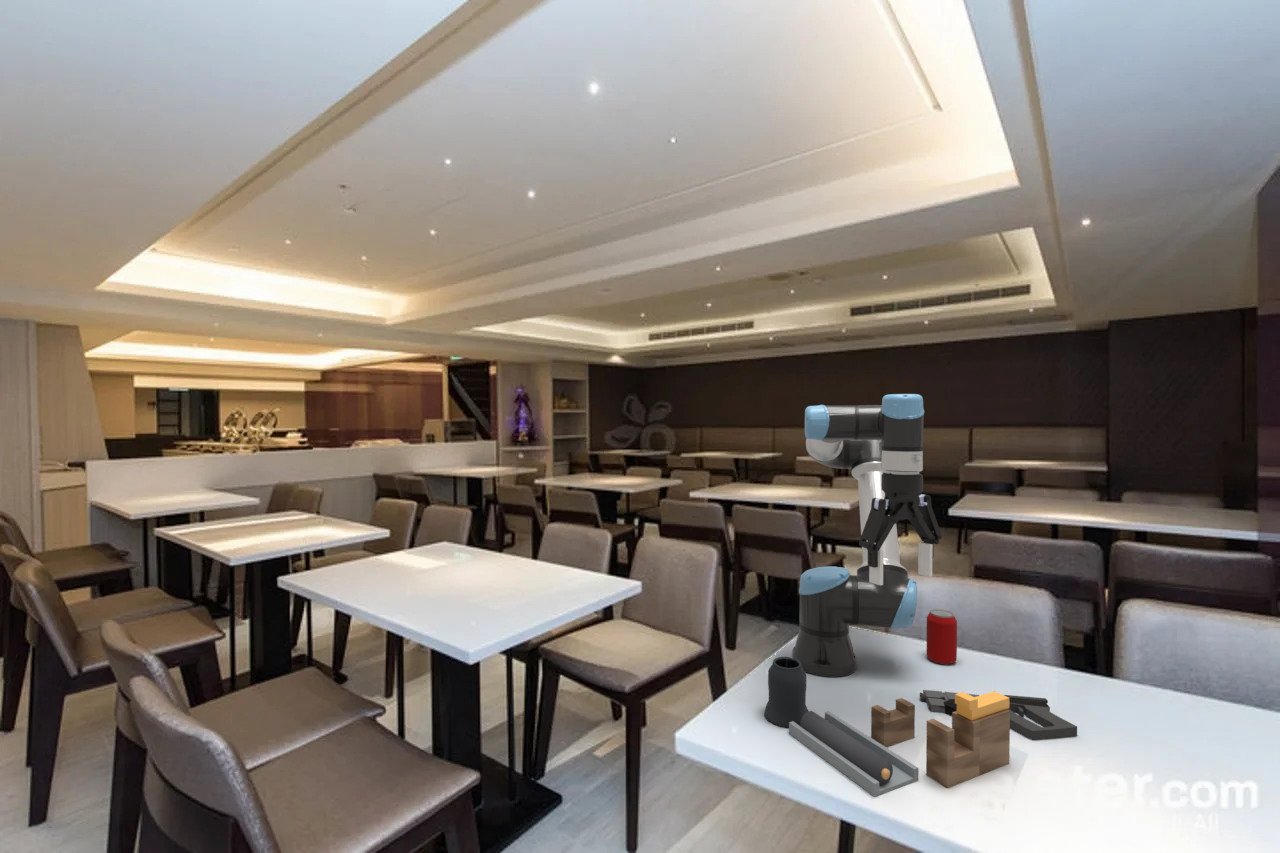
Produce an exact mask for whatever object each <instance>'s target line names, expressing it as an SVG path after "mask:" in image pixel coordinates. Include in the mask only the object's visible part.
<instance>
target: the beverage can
mask: <svg viewBox="0 0 1280 853" xmlns="http://www.w3.org/2000/svg"><path fill="white" fill-rule="evenodd" d="M957 653H958V621H957V619H956V617H955V613H954V612H951V611H949V610H946V609H942V608H937V609H935V608H933V609H931V610H929V614H927V616H926V656H927V658H928V659H929V660H931V661H932V662H934V663H936V664H939V665H952V664H953V663H956V661H958V660H957V658H958V657H957V655H958V654H957Z"/></svg>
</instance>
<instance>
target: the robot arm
mask: <svg viewBox="0 0 1280 853" xmlns="http://www.w3.org/2000/svg"><path fill="white" fill-rule="evenodd" d="M881 400H882V401H881V404H880V405H879V404H873V405H871V404H866V405H861V404H859V405H857V404H856V405H855V404H854V405H824V404H819V405H808V406H807V407H806V408H805V410H804V436H805V438H806V439H805V449H806V452H807V453H808V456H810V458H811V459H813V460H814V461H815V462H817V463H819V464H820V465H823V466H826V467H828V468H833V469H844V470H850V472H851V476H852V477H853V478H854V479H855V480H857V487H858V500H859V501H858V504H859V517H860V518H859V519H860V536H861V537H860V539H859V542H858V545H859V547H861V548H862V549H861V552H862V554H861V555H862V564H861V565H860V566H859V567H857V569H856V575H854V574H853V575H852V574H851V573H850V570H848V568H845V567H841V566H840V567H838V566H836V565H835V566H830V565H829V566H827V565H826V566H819V567H813V568H809V569H807V570H805V571H804V572H803V573H802V574H801V575H800V578H799V580H800V581H799V589H798V593H799V629H798V630H799V631H798V634H797V638H796V641H795V645H794V647H793V648H792V652H791V653H792V654H791V655H792V656H791V658H795V659H797V660H799V661H800V662H801V664H802V668H803V670H804V671H805V673H809V674H812V675H815V676H819V677H829V678H830V677H832V678H835V677H837V678H838V677H843V676H849V675H851V674H853V673H854V672H856V671H857V656H856V654H855V651H854V647H853V644H852V641H851V637H850V630H849V629H850V626H852V625H853V626H863V627H876V628H885V629H890V630H892V629H908V628H910V627H911V626H912V625H913V623H914V621H915V617H916V611H917V602H918V587H917V586H918V585H917V580H916V579H914V578H911V577H909V572H908V570H907V568H906V567H904V566H903V565H902V564H901V561H900V551H899V550H900V549H899V540H898V539H899V538H898V528H897V523H899V521H905V520H908V521H909V523H910V524H911V526H912V527H913V528H914V530H915V532H916V534H917V535H918V537H919V538H920V540H921V541H918V547H917V548H918V549H917V550H918V551H917V553H918V554H917V555H918V556H917V559H918V560H917V561H918V563H917V566H918V567H917V572H918V573H917V574H919V575H921V576H925V577H928V578H932V577H933V559H934V550H935V549H934V545H938V544H939V542H940V540H941V539H942V538H943V535H942V532H941V529H940V527H939V524H938V521H937V518H936V515H935V513H934V509H933V507H932V497H931V495H929V494H928V495H927V494H922V492H923V490H924V475H922V474H921V473H920V472H922V471H923V470H924V464H923V463H924V461H923V457H924V456H923V454H924V453H923V452H924V414H925V409H924V399H923V396H922V395H921V394H917V393H893V394H892V393H891V394H886V395H884V396H883V397H882V399H881Z"/></svg>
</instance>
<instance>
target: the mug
mask: <svg viewBox="0 0 1280 853" xmlns="http://www.w3.org/2000/svg"><path fill="white" fill-rule="evenodd" d="M767 686H768V687H767V688H768V701H767V703H766V704H765V705H766V706H765V708H764V714H763V715H764V719H765V720H767V722H768V723H770V724H771V725H773V726H775V727H778V728H782V729H787V730H789V722H792V721H793V722H795V723H796V724H798V725H799V726H801V719H802V717H803V715H804V714H805V713H806V712H808V711H809V709H808V707H807V704H806V703H807V702H806V701H807V700H806V699H807V694H806V693H807V672H805V671H804V670H803V668H802V664H801V662H800V661H799V660H797V659H795V658H792V656H791V657H790V656H778V657H775V658H774V659H773V660H772V663H771V665H770V667H769V668H768V671H767Z"/></svg>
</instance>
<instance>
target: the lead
mask: <svg viewBox="0 0 1280 853" xmlns="http://www.w3.org/2000/svg"><path fill="white" fill-rule="evenodd" d="M801 727H802V728H803V729H805V730H806V731H808V732H809V733H810V734H812V735H813V736H815V737H816V738H818V739H819V740H820V741H822V742H823V743H825V744H826V745H827V746H829V747H830V748H832V749H833V750H835V751H836V752H837V753H839V754H840V755H842V756H843V757H844V758H846V759H847V760H849V761H850V762H851V763H853V764H854V765H856V766H857V767H859V768H860V769H861V770H863V771H864V772H866V773H867V774H868V775H870V776H871V777H873V778H874V779H876V780H877V781H878V782H879V785H885V784H887V783H888V782H889V780H890V779H891V777H892V773H893V766H892V764H891V762H889V761H888V760H886V759H885V758H883V757H882V756H880V755H879V754H877V753H876V752H874V751H873V750H871V749H870V748H868V747H867V746H865V745H863V744H862V743H860V742H859V741H857V740H856V739H854V738H853V737H851V736H850V735H848V734H847V733H845V732H844V731H842V730H841V729H839V728H837V727H836V726H834V725H833V724H831V723H830V722H828V721H827V720H825V717H822V716H820V715H819V714H818V713H817V712H815V711H813V710H808V712H806V713H805V714H804V715H803V717H802V719H801Z"/></svg>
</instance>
